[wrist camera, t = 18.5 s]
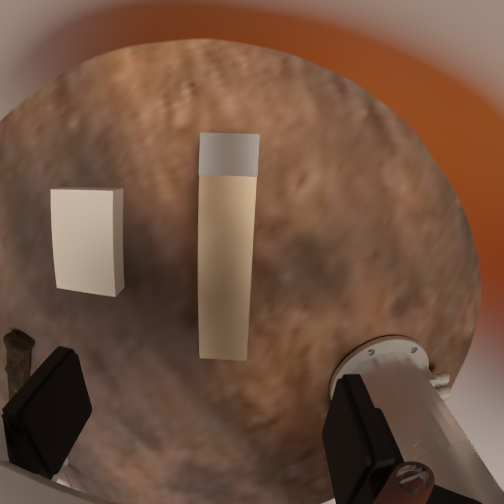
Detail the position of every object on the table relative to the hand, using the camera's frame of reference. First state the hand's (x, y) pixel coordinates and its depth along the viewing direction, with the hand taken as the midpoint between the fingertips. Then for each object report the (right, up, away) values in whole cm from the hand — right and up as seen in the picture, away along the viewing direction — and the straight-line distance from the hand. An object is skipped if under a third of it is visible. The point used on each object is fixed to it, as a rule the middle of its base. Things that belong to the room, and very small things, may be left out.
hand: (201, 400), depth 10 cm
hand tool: (-31, -14, +26) cm, 42 cm away
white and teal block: (-15, +1, +20) cm, 25 cm away
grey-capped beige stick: (0, +6, +19) cm, 20 cm away
